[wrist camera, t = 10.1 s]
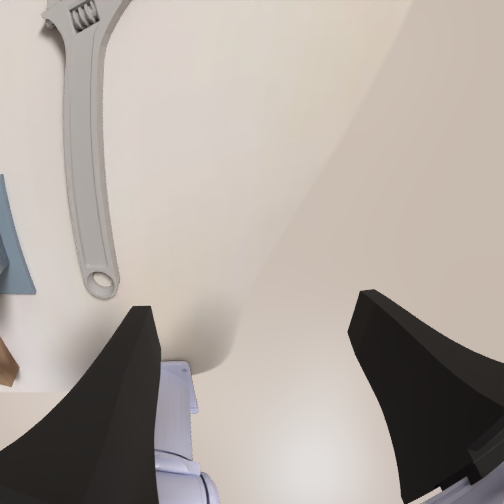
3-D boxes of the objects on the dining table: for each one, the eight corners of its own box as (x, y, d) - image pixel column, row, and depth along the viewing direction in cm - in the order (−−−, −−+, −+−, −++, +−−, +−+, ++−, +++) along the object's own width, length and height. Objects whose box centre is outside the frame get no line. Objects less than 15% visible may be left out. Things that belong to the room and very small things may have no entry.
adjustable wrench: (125, 287, 21) (120, 302, 20) (54, 280, 20) (46, 293, 18) (160, -55, 9) (157, -67, 8) (70, -43, 8) (61, -51, 6)
